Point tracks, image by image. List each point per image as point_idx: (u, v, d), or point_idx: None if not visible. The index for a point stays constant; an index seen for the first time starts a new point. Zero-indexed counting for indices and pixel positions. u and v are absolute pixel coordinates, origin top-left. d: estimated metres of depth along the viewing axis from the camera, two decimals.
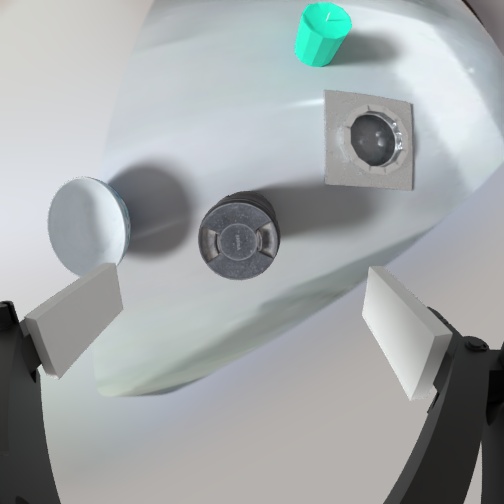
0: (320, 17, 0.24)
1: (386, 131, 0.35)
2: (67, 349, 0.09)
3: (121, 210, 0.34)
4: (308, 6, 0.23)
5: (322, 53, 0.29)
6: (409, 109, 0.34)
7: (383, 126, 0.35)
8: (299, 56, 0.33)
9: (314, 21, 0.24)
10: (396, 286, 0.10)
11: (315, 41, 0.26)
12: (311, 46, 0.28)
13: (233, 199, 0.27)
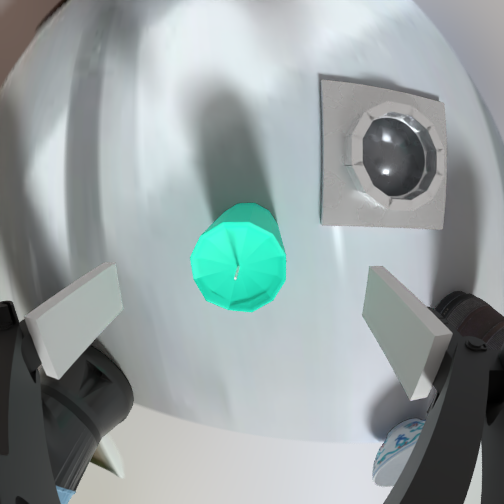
0: (232, 277, 0.18)
1: (377, 130, 0.23)
2: (67, 349, 0.09)
3: None
4: (209, 299, 0.18)
5: None
6: (333, 82, 0.22)
7: (371, 134, 0.23)
8: None
9: (244, 289, 0.18)
10: (396, 286, 0.10)
11: None
12: None
13: None
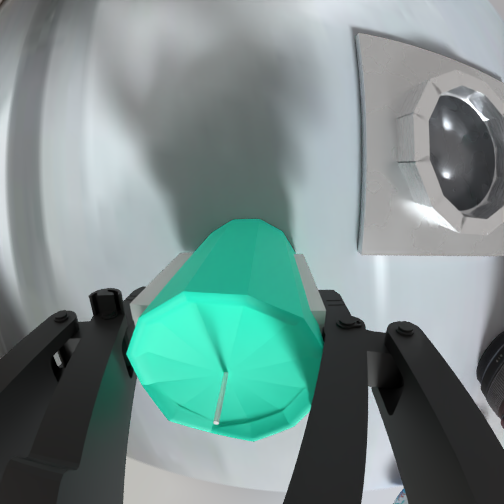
0: (215, 389, 0.08)
1: (440, 112, 0.13)
2: None
3: None
4: (175, 419, 0.08)
5: None
6: (375, 38, 0.12)
7: (431, 117, 0.13)
8: None
9: (239, 406, 0.08)
10: (301, 270, 0.13)
11: None
12: None
13: None
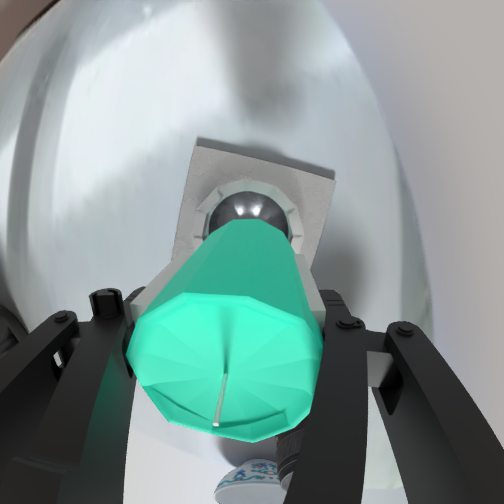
0: (215, 391, 0.08)
1: (237, 203, 0.27)
2: None
3: (255, 483, 0.31)
4: (174, 421, 0.08)
5: None
6: (205, 149, 0.26)
7: (229, 206, 0.27)
8: None
9: (239, 408, 0.08)
10: (301, 270, 0.13)
11: None
12: None
13: (278, 472, 0.20)
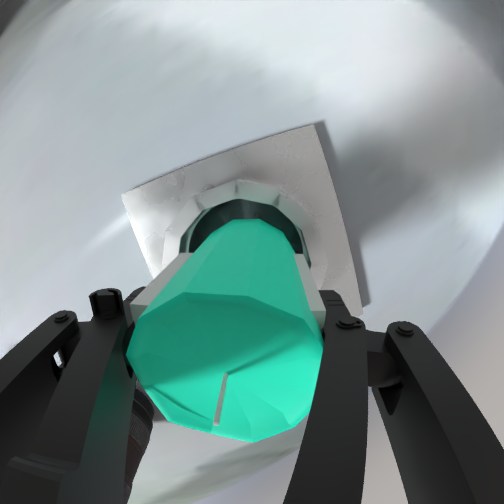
0: (215, 390, 0.08)
1: (272, 223, 0.18)
2: None
3: None
4: (174, 420, 0.08)
5: None
6: (316, 141, 0.17)
7: (261, 215, 0.18)
8: None
9: (239, 407, 0.08)
10: (301, 270, 0.13)
11: None
12: None
13: None
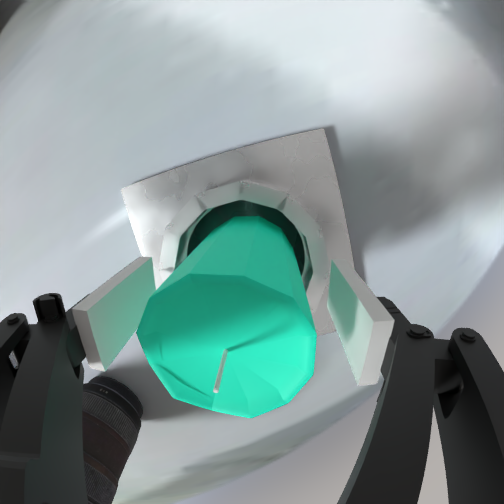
0: (216, 366, 0.09)
1: None
2: (112, 341, 0.10)
3: None
4: (178, 397, 0.09)
5: None
6: (325, 145, 0.16)
7: (264, 218, 0.18)
8: None
9: (238, 384, 0.09)
10: (351, 277, 0.12)
11: None
12: None
13: None
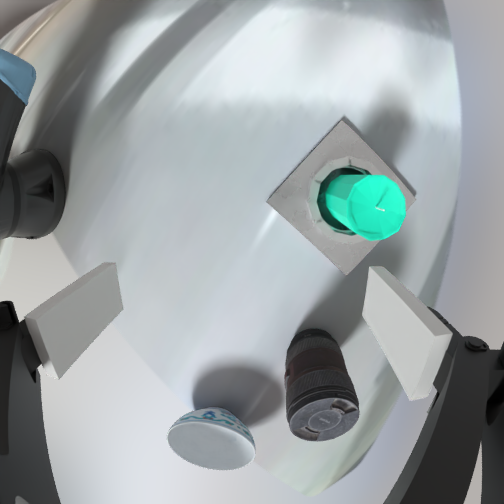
0: (376, 216, 0.23)
1: None
2: (67, 349, 0.09)
3: (224, 426, 0.36)
4: (371, 238, 0.24)
5: None
6: (347, 127, 0.31)
7: (343, 174, 0.32)
8: None
9: (386, 219, 0.23)
10: (396, 286, 0.10)
11: None
12: None
13: (296, 402, 0.26)
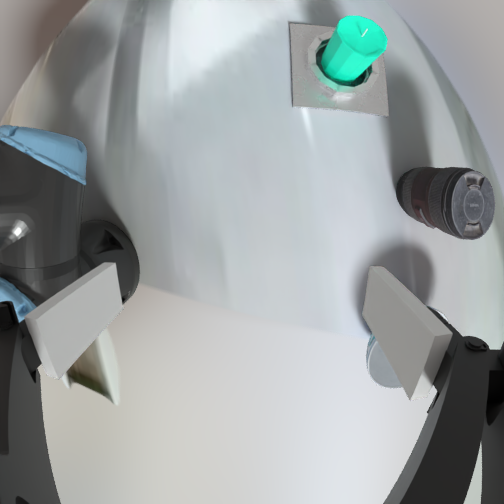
0: (367, 40, 0.22)
1: None
2: (67, 349, 0.09)
3: None
4: (378, 54, 0.22)
5: None
6: (297, 24, 0.30)
7: None
8: None
9: (374, 39, 0.22)
10: (396, 286, 0.10)
11: None
12: None
13: (444, 205, 0.24)
